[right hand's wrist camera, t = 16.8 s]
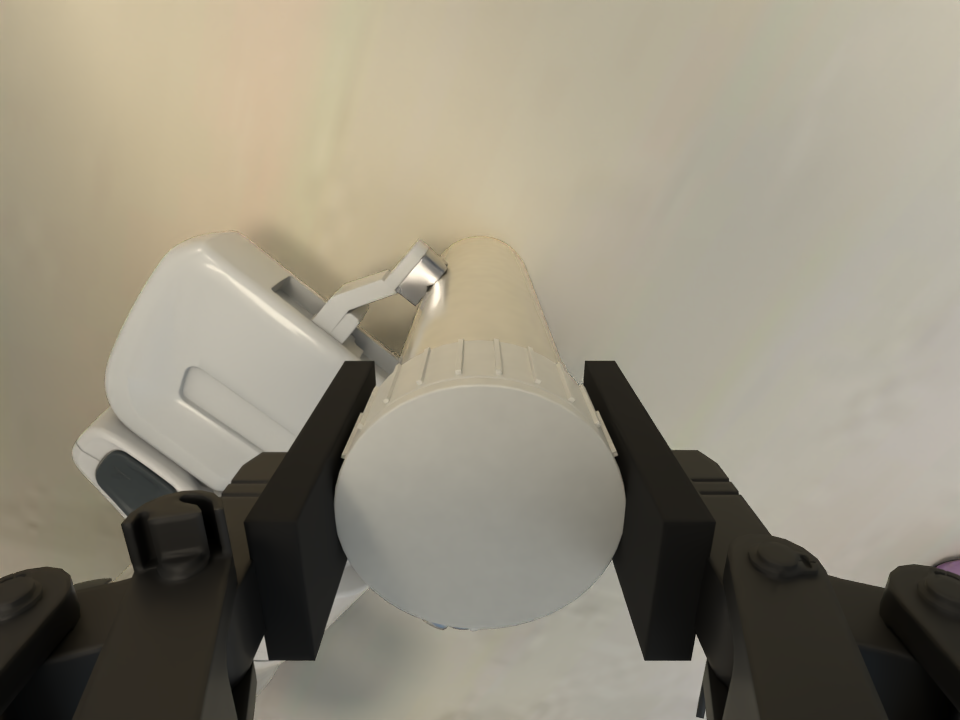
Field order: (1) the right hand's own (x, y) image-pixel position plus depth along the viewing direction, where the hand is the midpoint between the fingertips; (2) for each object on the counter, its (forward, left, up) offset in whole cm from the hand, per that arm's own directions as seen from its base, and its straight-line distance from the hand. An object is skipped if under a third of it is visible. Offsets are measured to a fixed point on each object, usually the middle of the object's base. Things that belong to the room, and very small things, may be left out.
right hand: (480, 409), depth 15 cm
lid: (0, 0, +4) cm, 4 cm away
